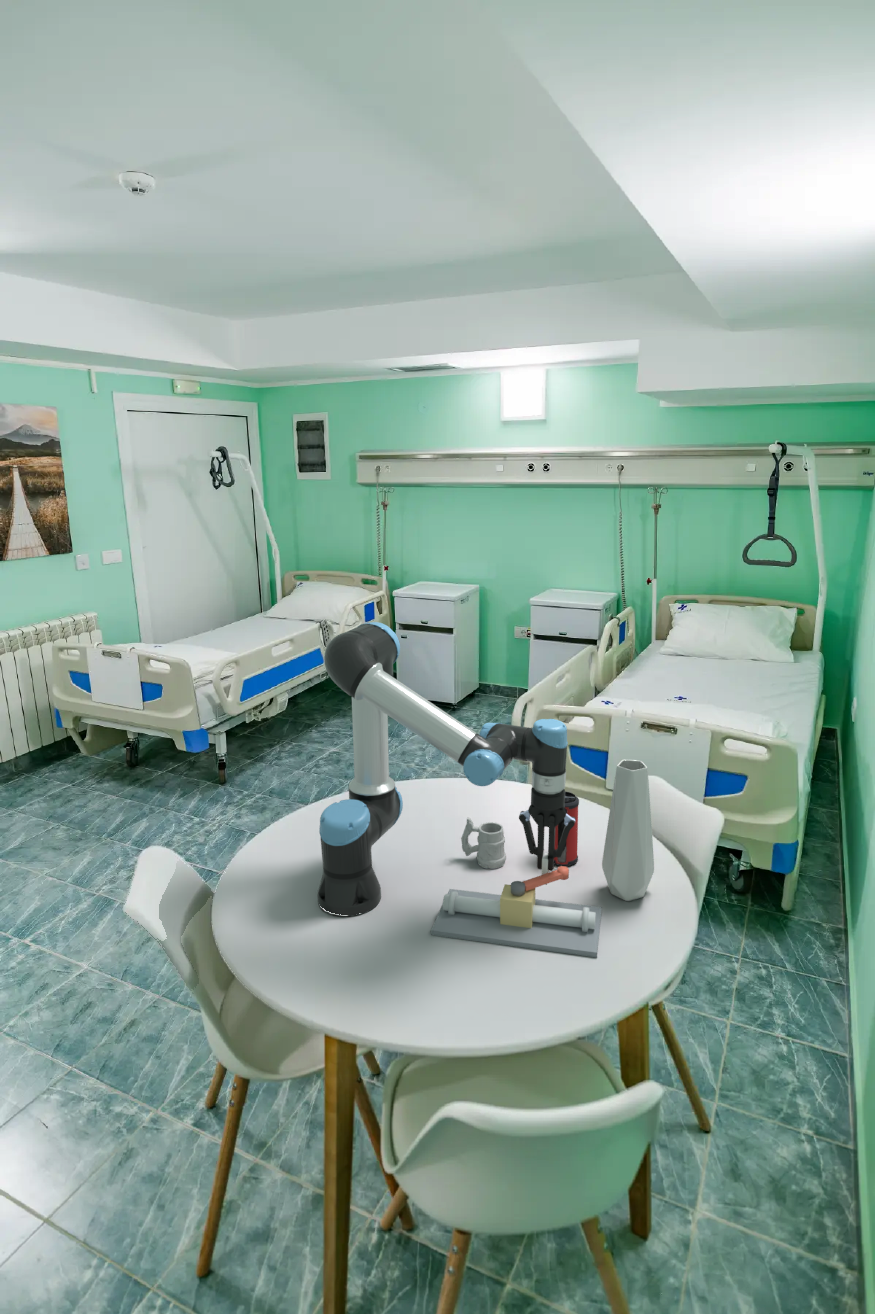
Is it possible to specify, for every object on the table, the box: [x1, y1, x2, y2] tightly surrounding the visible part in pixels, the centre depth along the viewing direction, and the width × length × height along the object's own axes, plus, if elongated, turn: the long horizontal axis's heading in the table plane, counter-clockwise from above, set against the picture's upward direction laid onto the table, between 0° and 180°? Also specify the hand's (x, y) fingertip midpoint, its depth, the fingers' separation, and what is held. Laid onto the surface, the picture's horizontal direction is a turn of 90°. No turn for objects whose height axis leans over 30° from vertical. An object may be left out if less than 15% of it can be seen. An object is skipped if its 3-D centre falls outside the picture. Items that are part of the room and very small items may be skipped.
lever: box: [510, 866, 570, 896], centre depth 171 cm, size 15×3×2 cm, turn 118°
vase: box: [601, 759, 655, 902], centre depth 177 cm, size 12×12×33 cm
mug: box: [460, 816, 507, 870], centre depth 196 cm, size 8×12×12 cm, turn 75°
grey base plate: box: [430, 884, 603, 958], centre depth 169 cm, size 36×17×8 cm, turn 75°
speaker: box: [554, 791, 580, 867], centre depth 194 cm, size 8×8×18 cm
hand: (544, 881), depth 175 cm, fingers closed
